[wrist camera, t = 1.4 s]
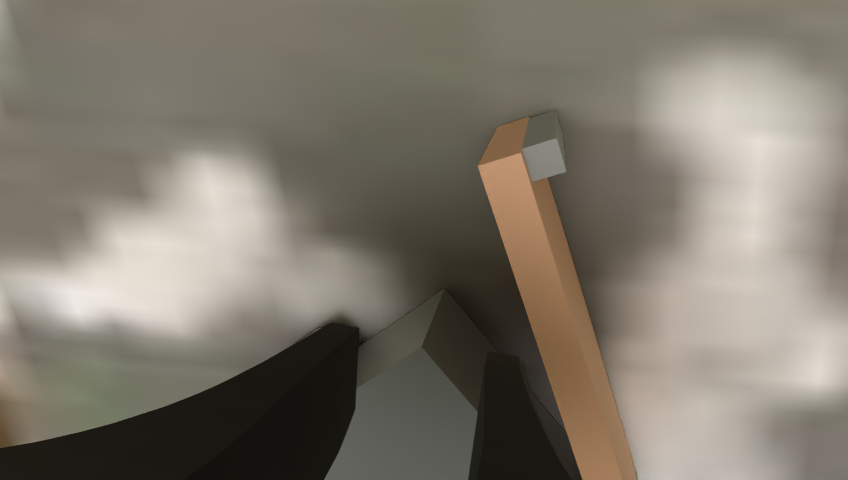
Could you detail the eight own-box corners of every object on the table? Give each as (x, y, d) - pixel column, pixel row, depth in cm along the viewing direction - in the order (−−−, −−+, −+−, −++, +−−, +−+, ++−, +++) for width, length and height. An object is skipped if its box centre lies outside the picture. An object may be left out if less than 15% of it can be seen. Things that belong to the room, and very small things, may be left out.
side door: (662, 480, 21) (695, 615, 16) (612, 486, 22) (629, 619, 17) (555, 107, 17) (556, 141, 13) (497, 126, 18) (477, 166, 13)
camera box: (610, 486, 22) (624, 594, 18) (397, 582, 26) (368, 688, 22) (415, 253, 20) (380, 313, 16) (220, 395, 24) (152, 472, 20)
